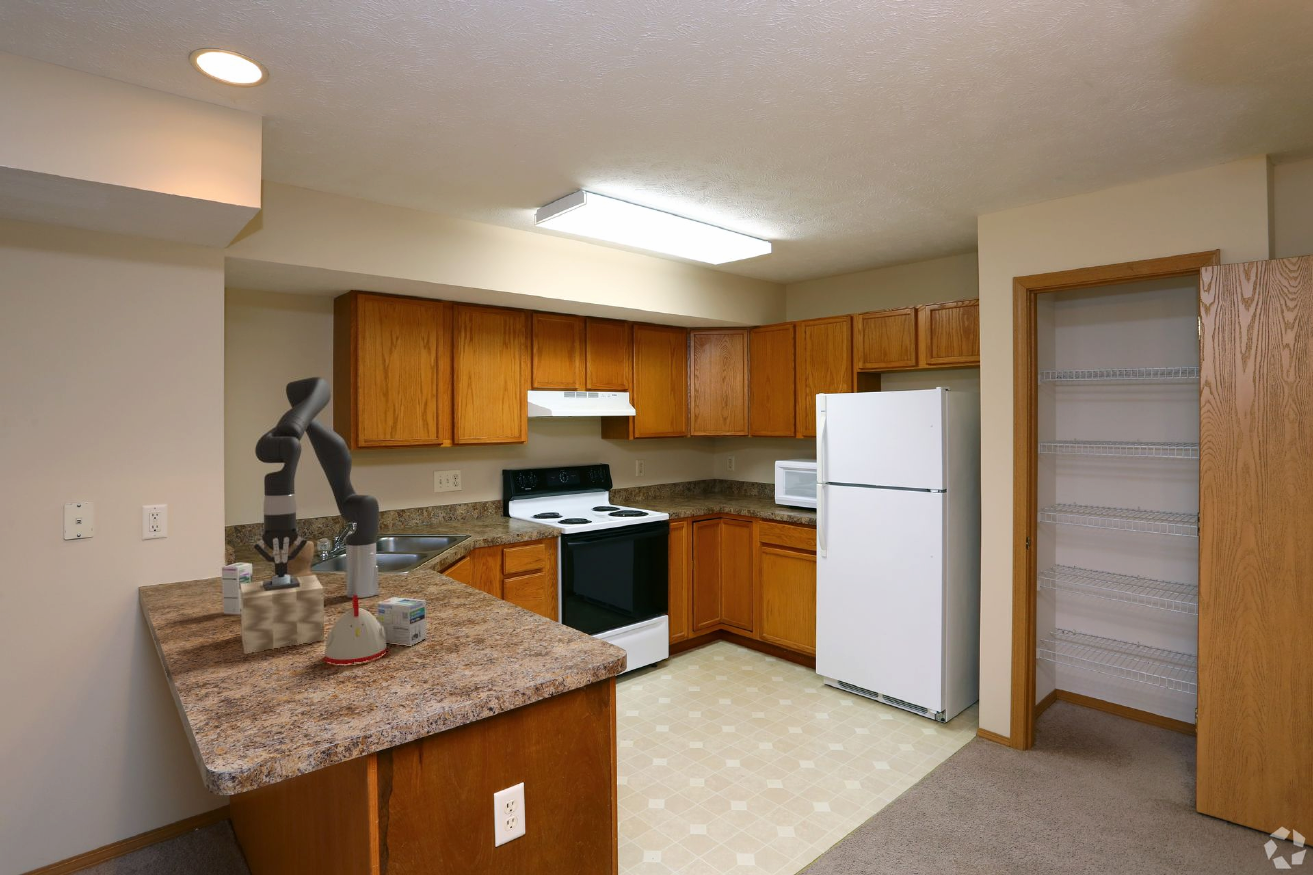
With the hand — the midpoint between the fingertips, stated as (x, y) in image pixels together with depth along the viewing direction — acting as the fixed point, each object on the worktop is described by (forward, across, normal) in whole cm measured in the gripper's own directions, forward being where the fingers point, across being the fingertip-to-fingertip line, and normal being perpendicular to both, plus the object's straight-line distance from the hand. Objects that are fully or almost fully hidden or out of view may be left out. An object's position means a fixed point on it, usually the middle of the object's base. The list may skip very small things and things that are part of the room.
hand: (281, 576), depth 181 cm
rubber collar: (+2, 0, 0) cm, 2 cm away
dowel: (+12, 0, 0) cm, 12 cm away
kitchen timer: (+17, -14, +26) cm, 34 cm away
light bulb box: (+17, -26, +21) cm, 37 cm away
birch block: (+16, 0, 0) cm, 17 cm away
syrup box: (+17, +9, -36) cm, 41 cm away
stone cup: (+17, -9, -70) cm, 73 cm away
